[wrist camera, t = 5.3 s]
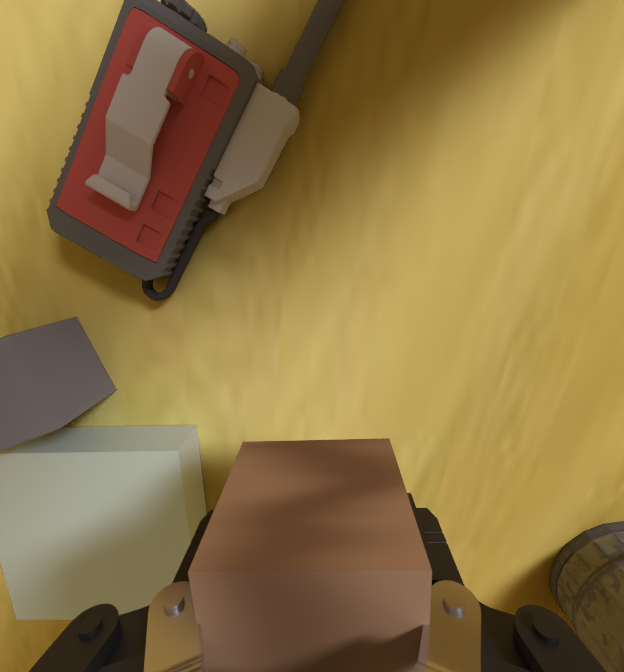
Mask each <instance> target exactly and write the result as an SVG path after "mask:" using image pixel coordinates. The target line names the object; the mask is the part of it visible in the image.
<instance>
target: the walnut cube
mask: <svg viewBox="0 0 624 672" xmlns="http://www.w3.org/2000/svg"><path fill="white" fill-rule="evenodd" d="M188 576H189V582H190V587H191V593H192V599H193V605H194V611H195V617H196V622H197V624H201V630H202V636H203V648H204V662H205V672H414V668H415V664H416V662H417V661H418V656H419V650H420V644H421V637H422V631H423V625H430V609H431V586H432V569H431V566H430V563H429V560H428V557H427V554H426V551H425V547H424V544H423V541H422V538H421V535H420V532H419V529H418V526H417V523H416V520H415V517H414V514H413V510H412V507H411V504H410V501H409V498H408V495H407V492H406V489H405V486H404V483H403V480H402V477H401V473H400V470H399V467H398V464H397V461H396V458H395V455H394V452H393V449H392V446H391V443H390V439H349V440H306V441H264V442H243V443H242V446H241V448H240V450H239V453H238V455H237V457H236V460H235V462H234V465H233V467H232V469H231V472H230V474H229V476H228V479H227V481H226V483H225V486H224V488H223V490H222V493H221V495H220V498H219V500H218V502H217V505H216V507H215V509H214V512H213V514H212V516H211V519H210V521H209V523H208V526H207V528H206V531H205V533H204V535H203V538H202V540H201V542H200V545H199V547H198V549H197V552H196V554H195V556H194V559H193V561H192V564H191V566H190V568H189V571H188Z"/></svg>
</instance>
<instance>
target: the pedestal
mask: <svg viewBox="0 0 624 672" xmlns="http://www.w3.org/2000/svg"><path fill="white" fill-rule="evenodd" d="M206 515H207V511H206V502H205V494H204V485H203V477H202V468H201V460H200V451H199V442H198V434H197V425H167V426H111V427H62V428H60V429H57V430H55V431H52V432H49V433H47V434H44V435H41V436H39V437H36V438H33V439H30V440H28V441H25V442H22V443H20V444H17V445H14V446H12V447H9V448H6V449H4V450H1V451H0V564H1V568H2V571H3V574H4V578H5V581H6V585H7V588H8V592H9V595H10V599H11V602H12V606H13V609H14V612H15V616H16V619H17V620H74V619H75V618H76V617H77V616H78V615H79V614H81V613H82V612H83V611H85V610H87V609H89V608H91V607H93V606H96V605H99V604H111V605H113V606H115V607H116V608H117V610H118V613H119V615H121V614H125V613H128V612H131V611H134V610H137V609H141V608H143V607H146V606H148V605H150V604H151V602H152V600H153V599H154V597H155V596H156V595H157V594H158V593H159V592H160V591H161V590H162V589H163V588H165V587H166V586H168V585H170V584H172V582H173V580H174V578H175V576H176V573H177V571H178V569H179V567H180V565H181V562H182V560H183V558H184V556H185V554H186V551H187V549H188V547H189V545H190V544H191V541H192V538H193V536H194V535H195V532H196V530H197V527H198V525H199V523H200V521H201V520H202V519H203V518H204V517H205V516H206Z"/></svg>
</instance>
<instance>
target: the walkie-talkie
mask: <svg viewBox="0 0 624 672" xmlns="http://www.w3.org/2000/svg"><path fill="white" fill-rule="evenodd" d="M343 2H344V0H318V2H317V4H316V6H315V8H314V10H313V12H312V14H311V16H310V19H309V21H308V23H307V25H306V27H305V29H304V31H303V33H302V35H301V37H300V39H299V41H298V43H297V45H296V47H295V49H294V51H293V54H292V56H291V58H290V60H289V62H288V64H287V66H286V68H285V69H282V70H281V71H280V73H279V75H278V77H277V79H276V81H275V83H274V85H273V87H272V89H271V90H269V89H267V88H266V87H264V86H263V85H262V80H261V78H262V76H263V74H264V71H263V69H262V68H261V67H260V66H259V65H258V64H256V63H255V62H253V61H249V62H248V61H247V60H246V59H245V58H244V56H245V53H246V49H245V48H244V47H243V46H242V45H241V44H240V43H239V42H238V41H236V40H235V39H232V38H231V39H230V41H229V43H228V45H227V46H226V45H225V44H223V43H222V42H220V41H219V40H217V39H215V38H214V37H212V36H211V35H209V34H208V33H206V32H207V28H206V24H205V22H204V20H203V18H202V17H201V16H200V14H199V13H198V12H197V11H196V10H195V9H194V8H193V7H192V6H190V5H189V4H188V3H187V2H186V1H185V0H161V3H160V2H158V1H157V0H124V3H123V5H122V8H121V11H120V14H119V16H118V19H117V22H116V24H115V27H114V30H113V32H112V35H111V38H110V40H109V43H108V46H107V48H106V51H105V54H104V56H103V59H102V62H101V65H100V67H99V70H98V73H97V75H96V78H95V81H94V83H93V86H92V89H91V91H90V95H91V96H90V99H89V101H88V102H86V109H85V112H84V113H82V116H81V117H82V120H81V123H80V124H78V126H77V128H78V131H77V133H76V136H75V135H74V137H73V139H74V141H73V144H72V146H70V148H69V150H70V152H69V155H68V157H66V159H65V161H66V163H65V166H64V168H62V169H61V171H62V173H61V176H60V178H58V180H57V182H58V184H57V187H56V189H55V188H54V191H53V192H54V195H53V197H52V199H50V205H49V208H48V209H46V210H47V214H48V218H49V222H50V226H51V228H52V229H53V231H55V232H56V233H58V234H59V235H61V236H63V237H65V238H67V239H68V240H70V241H72V242H74V243H76V244H77V245H79V246H81V247H83V248H85V249H86V250H88V251H90V252H92V253H94V254H95V255H97V256H99V257H101V258H103V259H104V260H106V261H108V262H110V263H112V264H113V265H115V266H117V267H119V268H120V269H122V270H124V271H126V272H128V273H129V274H131V275H133V276H135V277H137V278H140V279H142V288H143V291H144V293H145V294H146V295H147V296H148V297H149V298H150V299H152V300H156V301H159V300H163V299H166V298H168V297H169V296H170V295H171V294H172V293H173V292H174V291H175V289H176V287H177V285H178V283H179V280H180V278H181V276H182V274H183V272H184V270H185V268H186V266H187V264H188V262H189V260H190V258H191V256H192V254H193V252H194V250H195V247H196V245H197V243H198V241H199V239H200V237H201V235H202V234H203V232H204V230H205V228H206V227H207V226H208V225H209V224H210V223H212V222H213V221H215V219H216V218H217V217H218V216H219V214H220V213H221V214H224V215H225V214H226V211H227V209H228V207H229V205H230V204H231V203H233V202H235V201H237V200H239V199H242V198H244V197H246V196H248V195H250V194H252V193H254V192H257V191H259V190H261V189H262V188H263V187H264V185H265V183H266V181H267V179H268V177H269V175H270V173H271V171H272V170H273V168H274V166H275V164H276V162H277V160H278V158H279V156H280V154H281V152H282V150H283V148H284V146H285V144H286V142H287V140H288V138H289V137H290V136H292V135H293V134H294V133H295V131H296V129H297V127H298V125H299V123H300V116H299V110H298V109H297V108H296V107H295V104H296V102H297V100H298V98H299V97H300V95H301V93H302V91H303V89H304V84H303V82H304V80H305V78H306V76H307V74H308V72H309V70H310V68H311V66H312V64H313V62H314V60H315V58H316V56H317V54H318V52H319V50H320V48H321V46H322V44H323V42H324V40H325V38H326V36H327V34H328V32H329V30H330V28H331V26H332V24H333V22H334V20H335V18H336V16H337V14H338V12H339V10H340V8H341V6H342V4H343ZM209 208H211V210H210V212H209V211H208V210H209ZM206 214H207V215H206ZM168 276H171V278H170V280H169V282H168V284H167V286H166V288H165V289H164V290H163V291H162V292H161V293H158V292H157V291H156V290H154V288H153V280H154V279H159V278H165V277H168Z"/></svg>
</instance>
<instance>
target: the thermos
mask: <svg viewBox="0 0 624 672" xmlns="http://www.w3.org/2000/svg"><path fill="white" fill-rule="evenodd" d="M550 589H551V591H552V593H553V596H554V598H555V600H556V602H557V604H558V605H559V607H560V608H561V610H562V611H563V612H564V613H565V614H566V615H567V617H568V618H569V620H570V621H571V623H572V624H573V625H574V629H575V631H576V633H577V635H578V638H579V639H580V640H581V641H582V642H583V644H584V645H585V646H586V647H587V648H588V650H589V651H590V652H591V653H592V655H593V656H594V657H595V658H596V659H597V661H598V662H599V663H600V664H601V665H602V667H603V668H604V669H605V670H606V671H607V672H624V522H616V523H608V524H603V525H600V526H598V527H595V528H592V529H590V530H587V531H585V532H583V533H582V534H580V535H579V536H577V537H576V538H575V539H573V540H572V541H570V542H569V543H568V544H567V545H566V546H565V547H564V549H563V550H562V551H561V552H560V553H559V555H558V556H557V557H556V559H555V562H554V564H553V567H552V570H551V572H550Z"/></svg>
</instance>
